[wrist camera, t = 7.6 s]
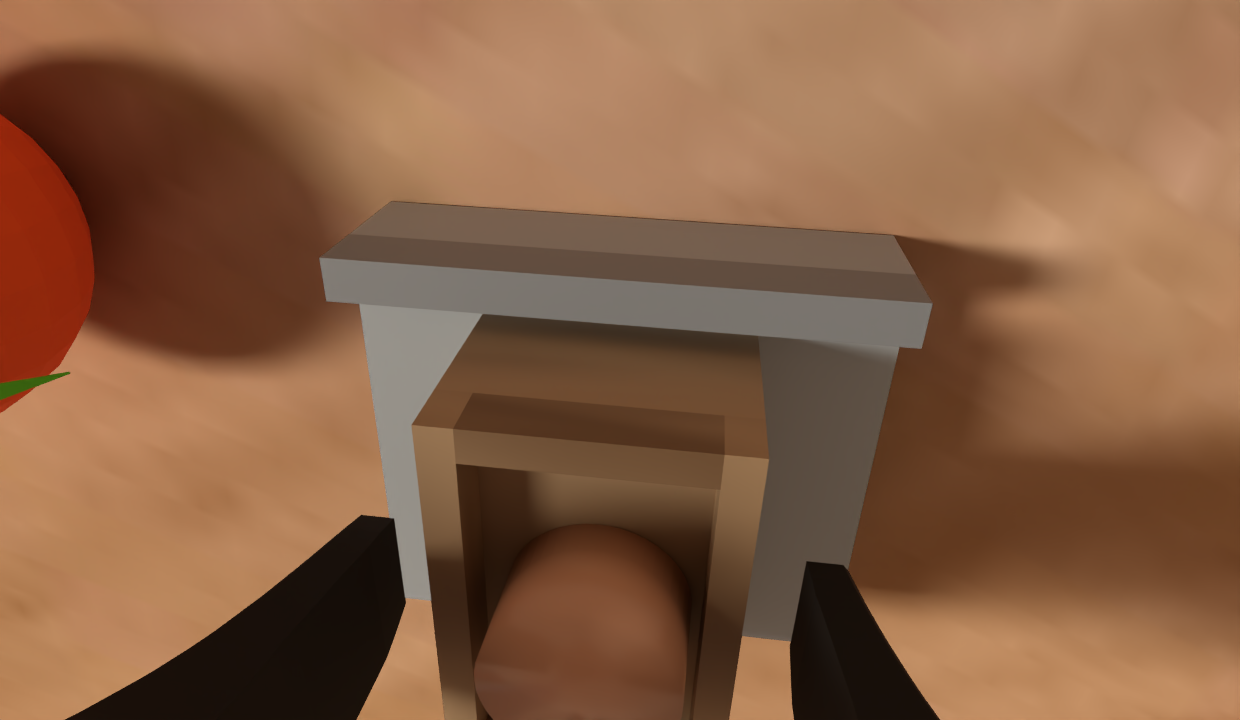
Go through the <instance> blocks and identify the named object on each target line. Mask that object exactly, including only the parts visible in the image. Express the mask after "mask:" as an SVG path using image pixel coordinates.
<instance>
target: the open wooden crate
mask: <svg viewBox="0 0 1240 720" xmlns="http://www.w3.org/2000/svg"><path fill="white" fill-rule="evenodd" d="M411 427H412V435H413V444H414V453H415V462H416V471H417V479H418V488H419V497H420V506H421V515H422V523H423V532H424V541H425V550H426V559H427V568H428V576H429V585H430V594H431V603H432V612H433V620H434V629H435V638H436V647H437V656H438V664H439V673H440V682H441V691H442V700H443V708H444V717H445V720H493V719H492V718H491V716H490V715H489V714H488V712H487V711H486V710H485V708H484V706H483V705H482V703H481V701H480V699H479V696H478V694H477V691H476V687H475V683H474V668H475V662H476V659H477V657H478V654H479V651H480V649H481V646H482V643H483V641H484V638H485V636H486V633H487V630H488V628H489V625H490V622H491V620H492V617H493V615H494V612H495V609H496V607H497V604H498V601H499V599H500V596H501V593H502V591H503V588H504V586H505V583H506V580H507V578H508V575H509V572H510V570H511V567H512V565H513V562H514V560H515V558H516V557H517V555H518V554H519V552H520V551H521V550H522V549H523V548H524V546H526V545H527V544H528V543H529V542H530V541H531V540H533V539H534V538H536V537H538V536H539V535H541V534H543V533H545V532H547V531H549V530H552V529H555V528H559V527H562V526H568V525H575V524H599V525H606V526H612V527H616V528H620V529H623V530H626V531H629V532H632V533H634V534H637V535H639V536H641V537H643V538H645V539H647V540H648V541H650V542H652V543H653V544H655V545H656V546H658V547H659V548H660V549H661V550H663V551H664V552H665V553H666V554H667V555H668V556H669V557H670V558H671V559H672V560H673V561H674V562H675V563H676V564H677V566H678V567H679V568H680V570H681V571H682V573H683V575H684V577H685V578H686V581H687V583H688V586H689V589H690V593H691V602H692V608H691V620H690V632H689V644H688V656H687V668H686V680H685V692H684V704H683V712H682V717H681V720H729V716H730V710H731V703H732V697H733V690H734V684H735V677H736V671H737V664H738V658H739V651H740V645H741V638H742V632H743V625H744V619H745V613H746V606H747V600H748V593H749V587H750V580H751V574H752V567H753V561H754V554H755V548H756V541H757V535H758V528H759V522H760V515H761V509H762V502H763V496H764V490H765V483H766V477H767V470H768V464H769V451H768V440H767V429H766V417H765V406H764V395H763V384H762V372H761V361H760V350H759V339H758V336H755V335H742V334H730V333H717V332H705V331H692V330H679V329H667V328H654V327H642V326H629V325H617V324H604V323H592V322H579V321H567V320H554V319H542V318H529V317H516V316H504V315H491V314H482V316H481V317H480V319H479V320H478V322H477V324H476V325H475V327H474V328H473V330H472V331H471V333H470V334H469V336H468V338H467V339H466V341H465V342H464V344H463V345H462V347H461V348H460V350H459V352H458V353H457V355H456V356H455V358H454V359H453V361H452V362H451V364H450V366H449V367H448V369H447V370H446V372H445V373H444V375H443V376H442V378H441V380H440V381H439V383H438V384H437V386H436V387H435V389H434V390H433V392H432V394H431V395H430V397H429V398H428V400H427V401H426V403H425V405H424V406H423V408H422V409H421V411H420V412H419V414H418V415H417V417H416V419H415V420H414V422H413V423H412V425H411Z"/></svg>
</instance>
